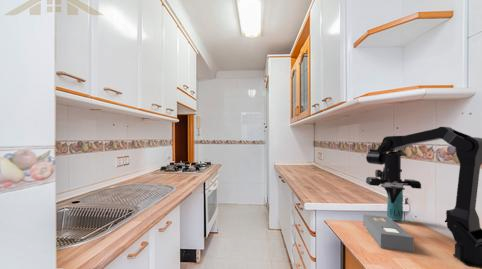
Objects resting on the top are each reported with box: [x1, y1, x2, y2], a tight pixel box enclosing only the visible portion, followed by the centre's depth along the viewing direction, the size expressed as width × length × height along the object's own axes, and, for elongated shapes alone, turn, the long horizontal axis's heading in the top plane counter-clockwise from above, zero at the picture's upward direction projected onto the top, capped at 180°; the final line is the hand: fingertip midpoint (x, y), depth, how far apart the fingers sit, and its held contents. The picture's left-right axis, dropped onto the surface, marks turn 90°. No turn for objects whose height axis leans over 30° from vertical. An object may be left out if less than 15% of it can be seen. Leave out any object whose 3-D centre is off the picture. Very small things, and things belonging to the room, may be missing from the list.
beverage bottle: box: [386, 186, 404, 221], centre depth 108 cm, size 6×7×20 cm
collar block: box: [362, 214, 415, 253], centre depth 88 cm, size 10×22×5 cm, turn 166°
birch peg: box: [373, 217, 387, 222], centre depth 94 cm, size 4×4×5 cm
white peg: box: [383, 228, 399, 233], centre depth 83 cm, size 4×4×5 cm
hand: (392, 203), depth 94 cm, fingers closed
